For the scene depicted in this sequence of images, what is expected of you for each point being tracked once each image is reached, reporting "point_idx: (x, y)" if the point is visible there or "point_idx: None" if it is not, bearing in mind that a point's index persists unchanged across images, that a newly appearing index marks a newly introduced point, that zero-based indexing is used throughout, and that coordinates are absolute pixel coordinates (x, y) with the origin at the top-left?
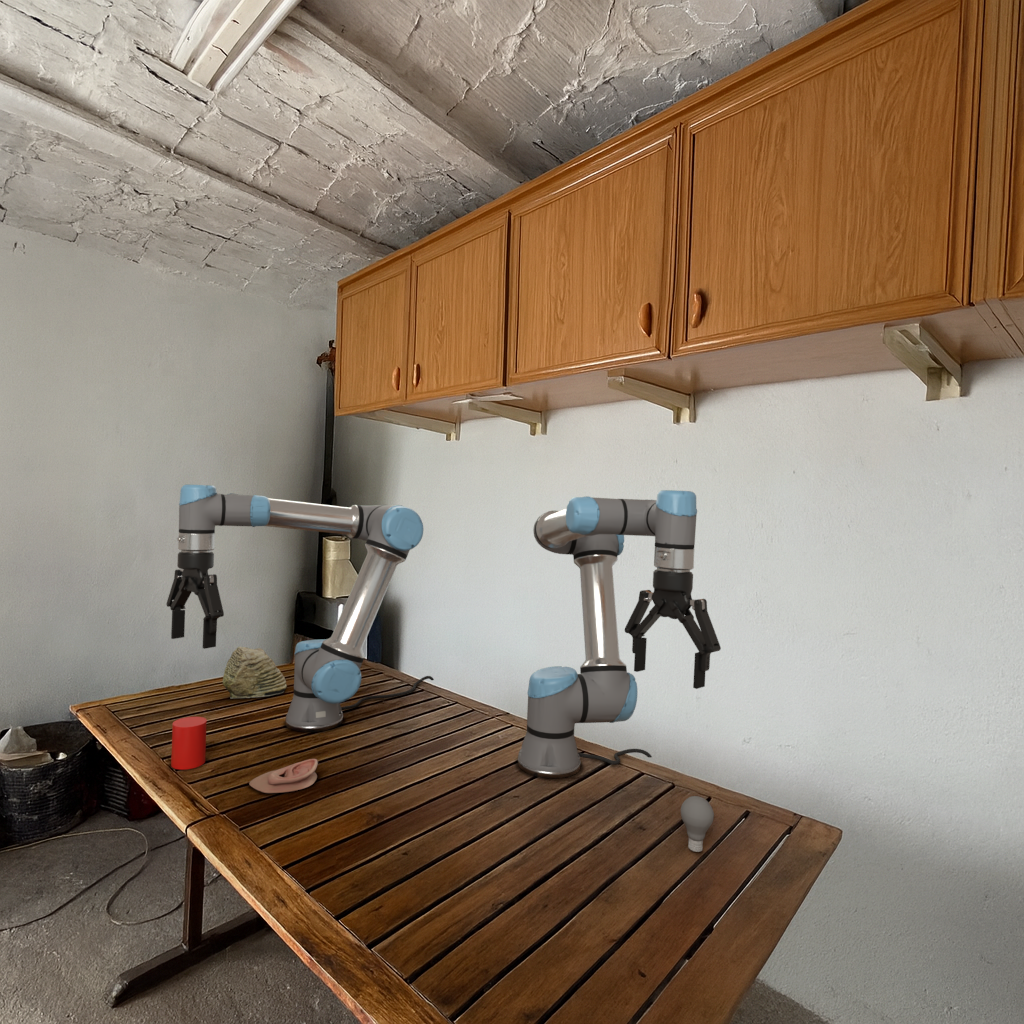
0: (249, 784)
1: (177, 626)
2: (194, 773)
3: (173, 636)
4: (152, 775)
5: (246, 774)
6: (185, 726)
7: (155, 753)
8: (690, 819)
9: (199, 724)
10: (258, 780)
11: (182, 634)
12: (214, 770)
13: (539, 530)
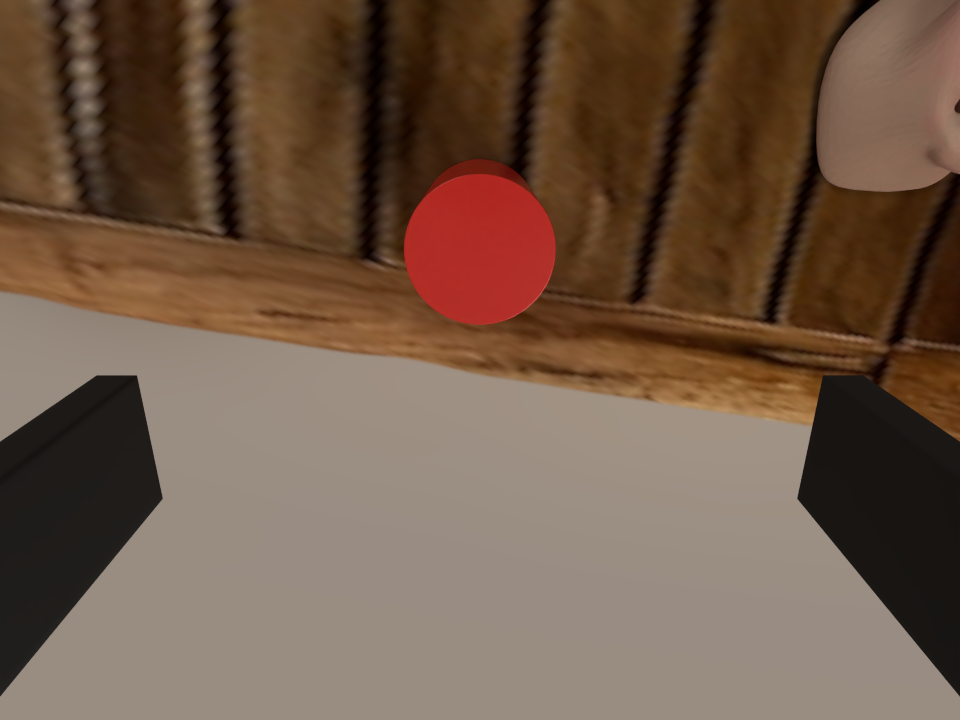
0: (834, 184)
1: (67, 545)
2: (579, 251)
3: (149, 510)
4: (484, 346)
5: (742, 130)
6: (525, 297)
7: (301, 252)
8: None
9: (550, 241)
10: (876, 167)
11: (120, 412)
12: (613, 190)
13: None
